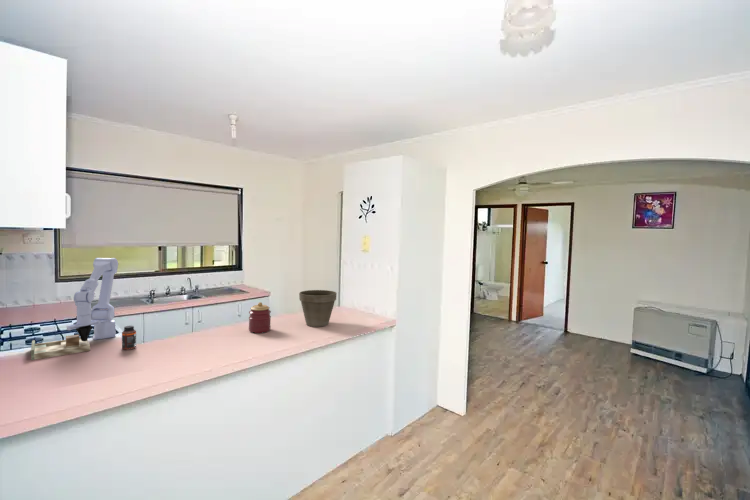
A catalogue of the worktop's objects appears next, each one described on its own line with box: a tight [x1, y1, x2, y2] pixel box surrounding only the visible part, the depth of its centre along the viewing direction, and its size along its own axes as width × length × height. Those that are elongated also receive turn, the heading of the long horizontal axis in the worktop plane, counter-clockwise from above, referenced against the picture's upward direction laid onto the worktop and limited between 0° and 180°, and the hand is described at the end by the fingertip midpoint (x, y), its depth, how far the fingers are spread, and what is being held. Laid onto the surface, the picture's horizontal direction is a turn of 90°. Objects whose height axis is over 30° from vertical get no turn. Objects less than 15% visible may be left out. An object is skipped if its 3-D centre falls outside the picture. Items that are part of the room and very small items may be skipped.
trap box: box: [30, 337, 91, 361], centre depth 175 cm, size 21×18×4 cm
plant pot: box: [298, 289, 337, 328], centre depth 239 cm, size 25×25×22 cm
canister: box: [248, 301, 272, 334], centre depth 219 cm, size 13×13×18 cm
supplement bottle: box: [121, 325, 137, 351], centre depth 181 cm, size 6×6×11 cm
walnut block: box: [65, 334, 80, 347], centre depth 178 cm, size 5×5×4 cm
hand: (84, 340), depth 181 cm, fingers closed
